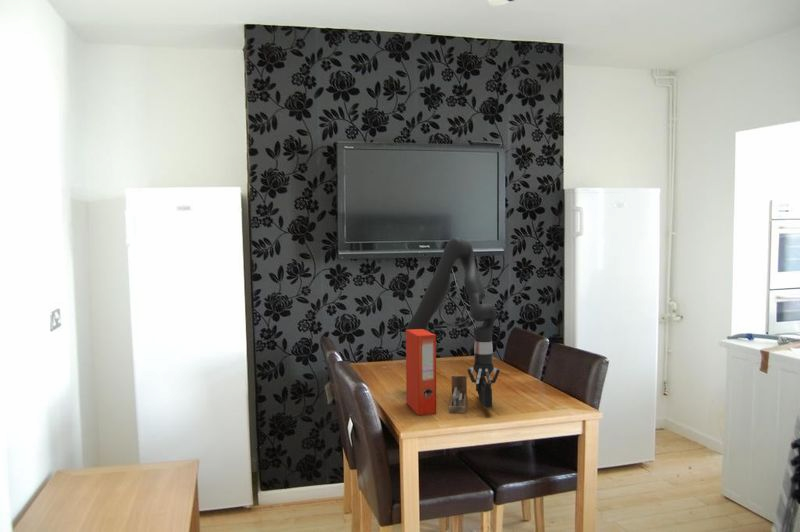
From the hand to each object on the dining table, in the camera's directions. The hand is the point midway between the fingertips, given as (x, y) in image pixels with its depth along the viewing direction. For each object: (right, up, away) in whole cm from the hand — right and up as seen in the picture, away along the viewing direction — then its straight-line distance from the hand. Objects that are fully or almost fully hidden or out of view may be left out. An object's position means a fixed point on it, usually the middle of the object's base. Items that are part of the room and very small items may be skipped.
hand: (483, 392), depth 238 cm
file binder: (-26, -7, -2) cm, 27 cm away
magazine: (0, -4, 0) cm, 4 cm away
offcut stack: (-10, -6, +2) cm, 12 cm away
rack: (-10, -6, +2) cm, 12 cm away
